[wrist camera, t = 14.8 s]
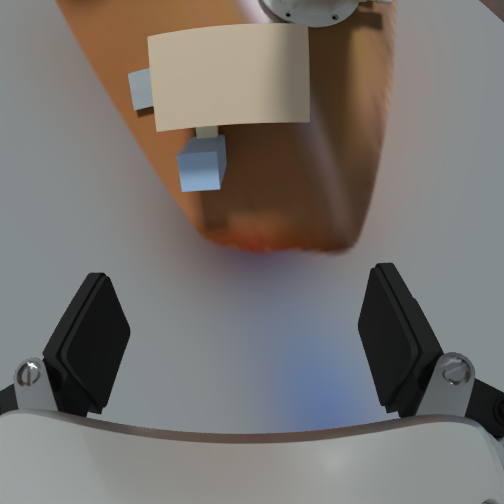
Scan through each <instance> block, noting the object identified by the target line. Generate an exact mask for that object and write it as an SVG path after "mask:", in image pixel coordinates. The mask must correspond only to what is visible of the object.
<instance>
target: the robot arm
mask: <svg viewBox="0 0 504 504" xmlns="http://www.w3.org/2000/svg"><path fill="white" fill-rule="evenodd" d="M359 1H360V2H366V1H367V0H262V2H263V3H264V4H265V6H266V7H267V8H268V9H269V10H270V11H271V12H273V13H274V14H275V15H277V16H278V17H280V18H281V19H283V20H285V21H287V22H290V23H292V24H308V27H311V28H316V27H326V26H331V25H334V24H337V23H339V22H341V21H343V20H345V19H346V18H347V17H349V16H350V15H351V14H352V13H353V12H354V10H355V9H356V8H357V6H358V4H359ZM370 1H375V2H377V3H382V4H386V5H391V3H392V0H370ZM479 1H481V2H482V3H483V4H484V5H485V6H486V7H487V8H489V9H490V10H491V11H492V12H493V13H494V14H495V15H496V16H497V17H498V18H499V19H501V20H502V21H503V22H504V0H479ZM286 14H289V15H290V17H287V16H286ZM332 17H335V20H333V19H332ZM358 330H359V334H360V337H361V340H362V344H363V347H364V350H365V353H366V357H367V360H368V363H369V366H370V370H371V373H372V376H373V380H374V384H375V387H376V391H377V394H378V398H379V402H380V404H381V406H385V408H386V411H387V413H391V412H396V411H398V414H399V417H401V418H399V419H392V420H387V421H381V422H375V423H369V424H363V425H356V426H349V427H341V428H333V429H325V430H315V431H304V432H289V433H266V434H218V433H216V434H215V433H196V432H182V431H171V430H161V429H153V428H152V429H151V428H145V427H137V426H130V425H124V424H117V423H112V422H107V421H102V420H96V419H91V418H87V413H88V412H91V413H96V414H101V412H102V409H103V407H106V405H107V403H108V400H109V397H110V393H111V390H112V387H113V384H114V381H115V378H116V375H117V372H118V369H119V366H120V363H121V360H122V357H123V354H124V351H125V349H126V346H127V343H128V340H129V337H130V327H129V324H128V322H127V320H126V317H125V315H124V313H123V310H122V308H121V305H120V303H119V301H118V298H117V295H116V293H115V290H114V287H113V285H112V282H111V280H110V278H109V277H108V276H106V274H104V273H89V274H88V275H87V277H86V279H85V280H84V282H83V283H82V285H81V286H80V288H79V290H78V291H77V293H76V295H75V296H74V298H73V299H72V301H71V303H70V304H69V306H68V308H67V310H66V311H65V313H64V315H63V317H62V318H61V320H60V322H59V323H58V325H57V327H56V329H55V331H54V333H53V334H52V336H51V338H50V340H49V342H48V343H47V345H46V348H45V349H44V351H43V356H44V359H43V360H40V359H39V358H36V357H35V358H29V359H26V360H25V361H23V362H22V363H21V364H20V365H19V366H18V367H17V369H16V370H15V373H14V384H12V385H10V386H8V387H7V388H5V389H3V390H2V391H0V504H504V393H503V392H502V391H500V390H497V389H495V388H494V387H492V386H489V385H488V384H486V383H484V382H482V381H480V380H478V379H476V378H475V370H474V366H473V365H472V363H471V361H470V360H469V359H468V358H467V357H465V356H463V355H462V354H459V353H456V352H451V353H450V352H449V353H446V354H444V353H443V350H442V348H441V346H440V344H439V342H438V340H437V338H436V336H435V334H434V332H433V330H432V329H431V327H430V325H429V323H428V321H427V319H426V317H425V315H424V313H423V311H422V310H421V308H420V306H419V304H418V302H417V301H416V299H415V298H413V297H412V295H411V293H410V291H409V290H408V288H407V286H406V284H405V283H404V281H403V279H402V278H401V276H400V274H399V272H398V271H397V269H396V267H395V266H394V264H393V263H378V264H376V266H375V268H372V269H371V271H370V275H369V280H368V284H367V288H366V293H365V297H364V301H363V305H362V309H361V313H360V317H359V321H358Z"/></svg>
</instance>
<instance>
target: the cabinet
mask: <svg viewBox="0 0 504 504" xmlns="http://www.w3.org/2000/svg"><path fill="white" fill-rule="evenodd" d="M148 51H149V64H150V75H151V86H152V96H153V105H154V113H155V122H156V130H157V132H159V131H166V130H174V129H183V128H192V127H203V126H215V125H228V124H246V123H276V122H310V73H309V40H308V24H292V23H259V24H237V25H223V26H213V27H204V28H196V29H189V30H182V31H176V32H170V33H164V34H159V35H154V36H149V37H148Z"/></svg>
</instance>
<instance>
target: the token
mask: <svg viewBox="0 0 504 504" xmlns="http://www.w3.org/2000/svg"><path fill="white" fill-rule="evenodd" d="M128 77H129V84H130V89H131V95H132V101H133V106H134V110H138V109H142V108H147V107H151V106H154V105H153V96H152V86H151V75H150V68H148V69H144V70H140V71H137V72H133V73H129V74H128Z"/></svg>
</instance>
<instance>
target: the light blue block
mask: <svg viewBox="0 0 504 504" xmlns="http://www.w3.org/2000/svg"><path fill="white" fill-rule="evenodd" d="M177 160H178V167H179V174H180V181H181V188H182V192H186V191H200V190H215V189H220V188H221V184H222V180H223V177H224V173H225V169H226V165H227V160H226V147H225V134H221V135H219V134H218V125H215V126H203V127H196V137H193V138H192V139H191V140H190V141H189V142H188V143H187V144H186V145H185V146H184V148H183V149H182V150H181V151H180V152H179V153H178V154H177Z"/></svg>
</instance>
